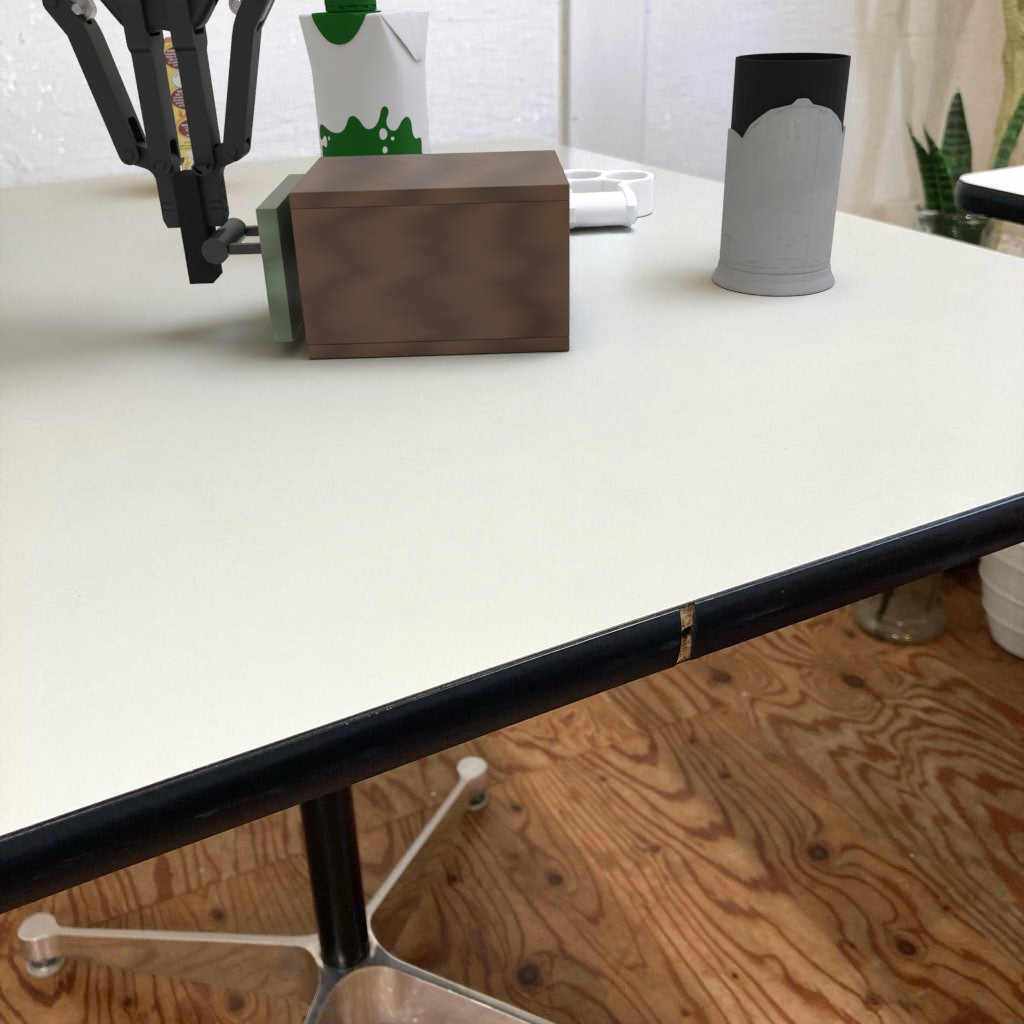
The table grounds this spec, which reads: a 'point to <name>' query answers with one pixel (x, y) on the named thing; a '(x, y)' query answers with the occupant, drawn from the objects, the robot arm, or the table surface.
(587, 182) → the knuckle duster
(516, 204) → the cabinet
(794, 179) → the glass holder
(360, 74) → the milk carton
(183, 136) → the candy box
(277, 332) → the drawer
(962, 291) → the table surface
